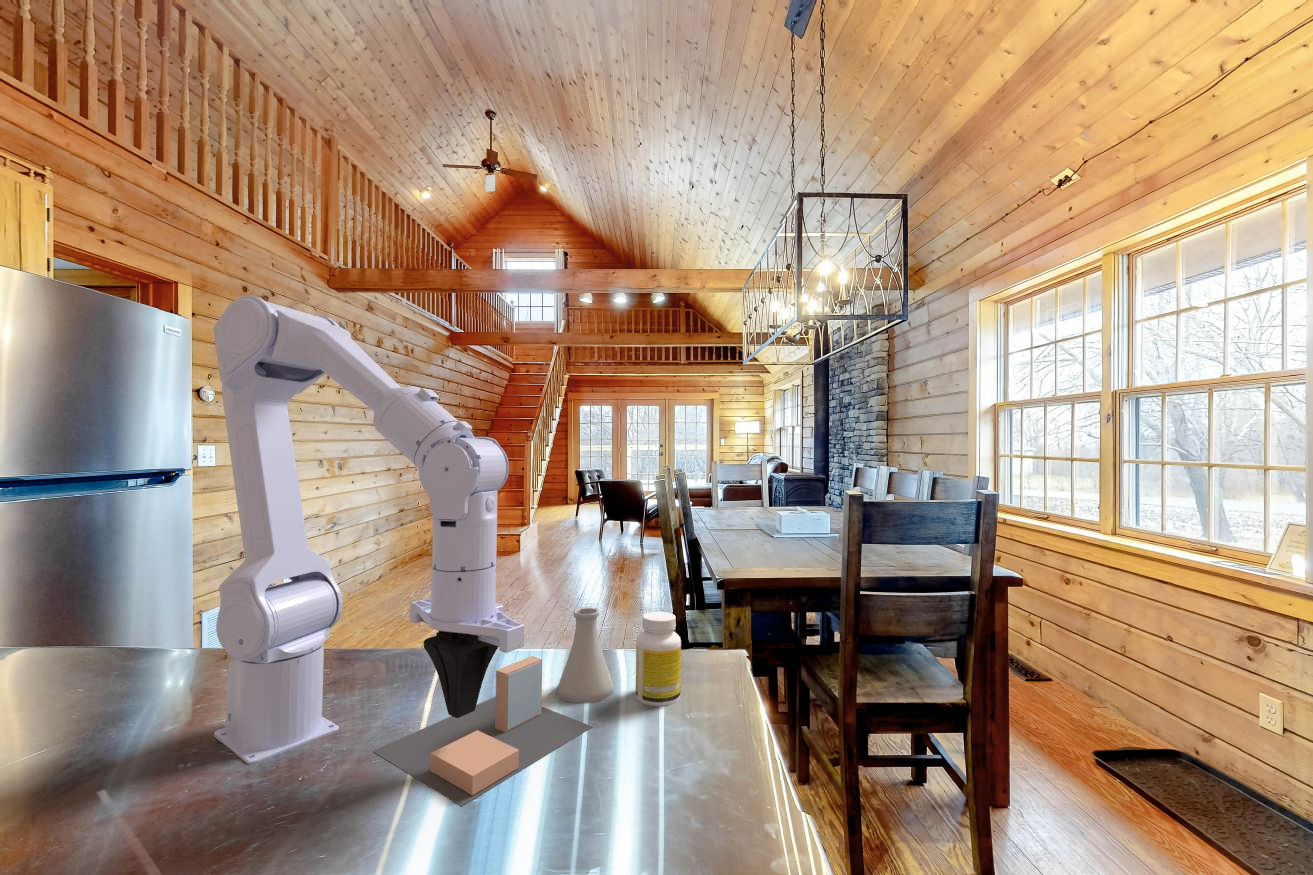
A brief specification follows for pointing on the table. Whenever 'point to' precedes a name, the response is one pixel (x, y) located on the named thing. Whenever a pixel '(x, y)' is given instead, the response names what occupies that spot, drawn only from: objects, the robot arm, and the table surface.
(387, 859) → the table surface
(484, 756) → the tile
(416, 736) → the mat
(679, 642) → the supplement bottle
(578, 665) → the flask
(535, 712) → the tile
